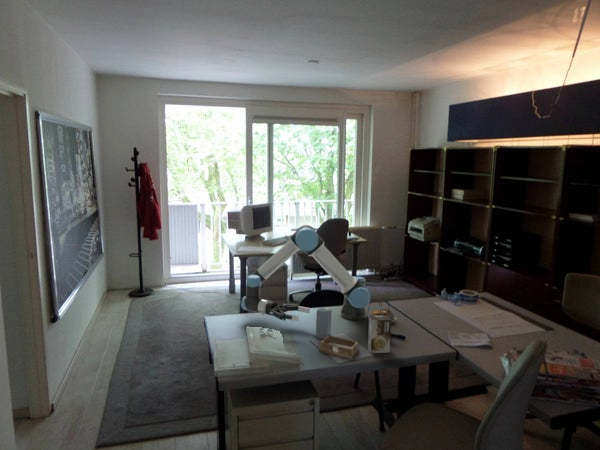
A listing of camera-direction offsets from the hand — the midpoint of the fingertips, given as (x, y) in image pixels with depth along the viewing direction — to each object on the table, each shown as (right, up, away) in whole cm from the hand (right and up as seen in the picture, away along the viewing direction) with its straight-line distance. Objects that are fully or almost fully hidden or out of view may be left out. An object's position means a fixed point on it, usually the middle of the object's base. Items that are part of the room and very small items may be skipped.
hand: (304, 314), depth 215 cm
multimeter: (+39, -12, -4) cm, 41 cm away
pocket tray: (+16, -13, -20) cm, 28 cm away
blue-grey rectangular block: (+10, -11, -3) cm, 15 cm away
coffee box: (+35, -13, -18) cm, 41 cm away
